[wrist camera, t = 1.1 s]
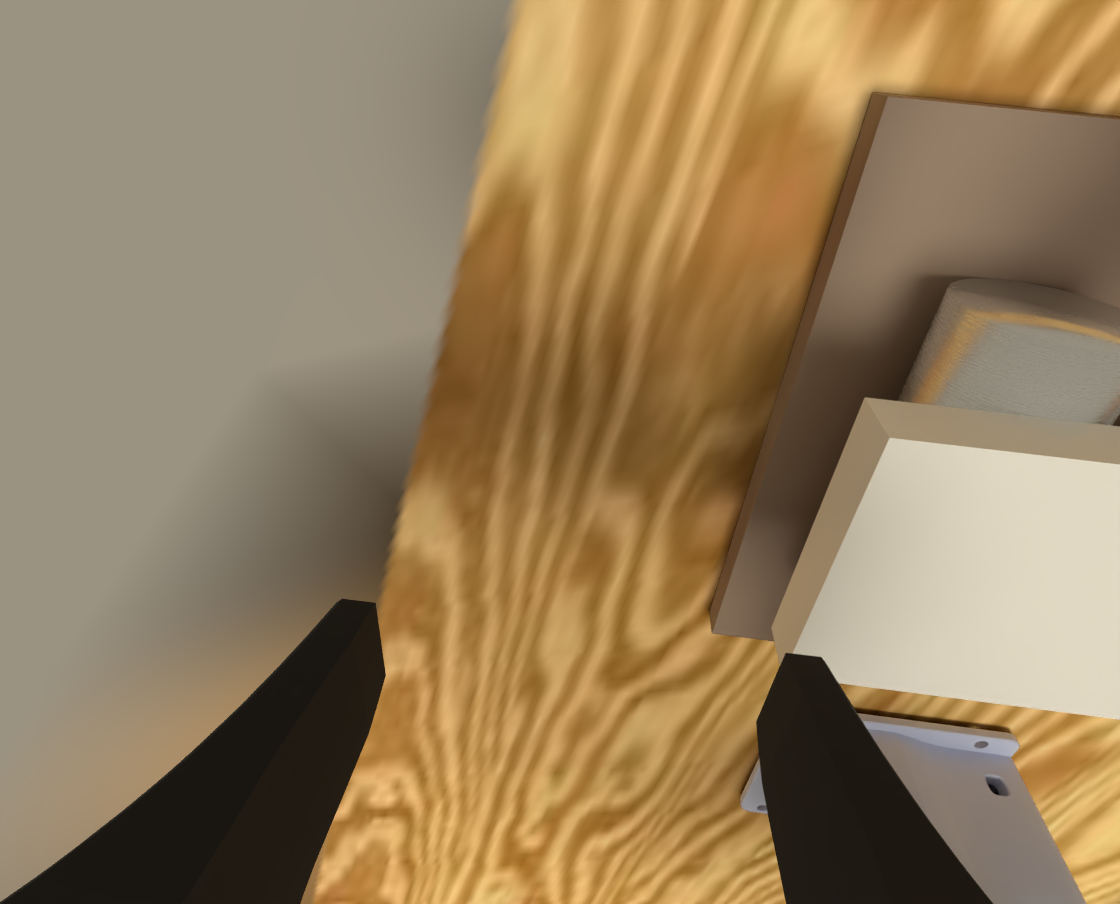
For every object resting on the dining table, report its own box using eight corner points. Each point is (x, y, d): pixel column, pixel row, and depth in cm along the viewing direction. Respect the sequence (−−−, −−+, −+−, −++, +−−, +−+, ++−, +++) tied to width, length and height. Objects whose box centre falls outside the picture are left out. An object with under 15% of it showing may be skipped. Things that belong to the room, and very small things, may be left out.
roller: (1088, 288, 15) (1220, 363, 12) (919, 584, 21) (976, 691, 17) (918, 270, 15) (1002, 340, 12) (796, 570, 21) (829, 674, 17)
